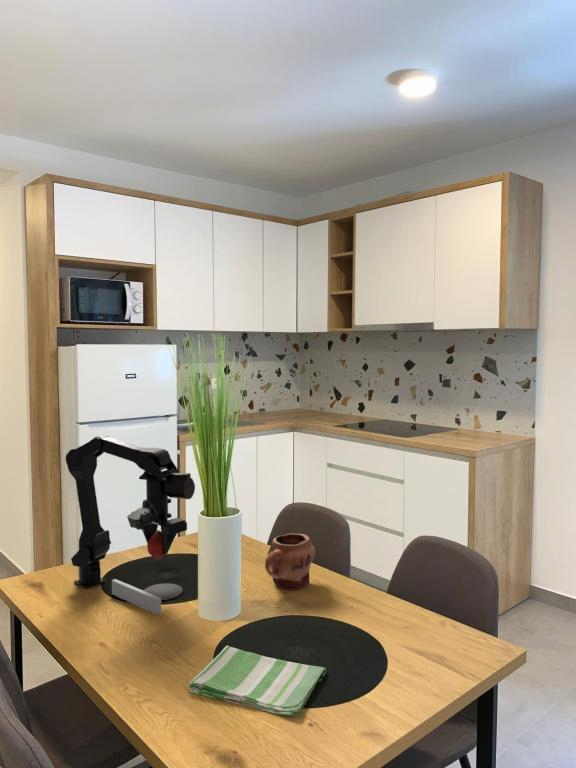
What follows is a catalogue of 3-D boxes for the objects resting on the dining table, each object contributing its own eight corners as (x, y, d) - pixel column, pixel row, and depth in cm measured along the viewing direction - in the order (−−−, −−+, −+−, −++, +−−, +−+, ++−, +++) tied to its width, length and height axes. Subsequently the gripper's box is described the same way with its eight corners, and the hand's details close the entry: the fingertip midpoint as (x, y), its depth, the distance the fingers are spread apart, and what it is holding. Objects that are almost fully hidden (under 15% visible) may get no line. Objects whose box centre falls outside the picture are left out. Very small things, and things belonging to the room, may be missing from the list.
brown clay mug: (287, 603, 161) (287, 552, 160) (250, 593, 168) (250, 544, 167) (324, 579, 178) (324, 532, 177) (289, 571, 184) (289, 526, 184)
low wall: (111, 594, 167) (111, 580, 167) (115, 593, 168) (115, 578, 168) (157, 614, 154) (157, 599, 154) (161, 613, 155) (160, 598, 155)
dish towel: (297, 723, 111) (297, 708, 111) (185, 696, 119) (185, 683, 119) (326, 674, 127) (326, 661, 127) (227, 653, 136) (227, 642, 136)
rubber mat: (134, 594, 167) (134, 592, 167) (165, 582, 176) (165, 580, 176) (159, 604, 160) (159, 602, 160) (190, 591, 169) (190, 590, 169)
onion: (166, 563, 163) (165, 534, 163) (144, 562, 164) (144, 533, 163) (171, 555, 169) (170, 527, 169) (150, 555, 169) (150, 527, 169)
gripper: (112, 495, 165) (113, 552, 166) (153, 507, 153) (154, 568, 154) (146, 488, 174) (147, 542, 175) (188, 499, 162) (188, 556, 162)
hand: (158, 551), depth 166 cm, fingers closed on onion, 6 cm apart
